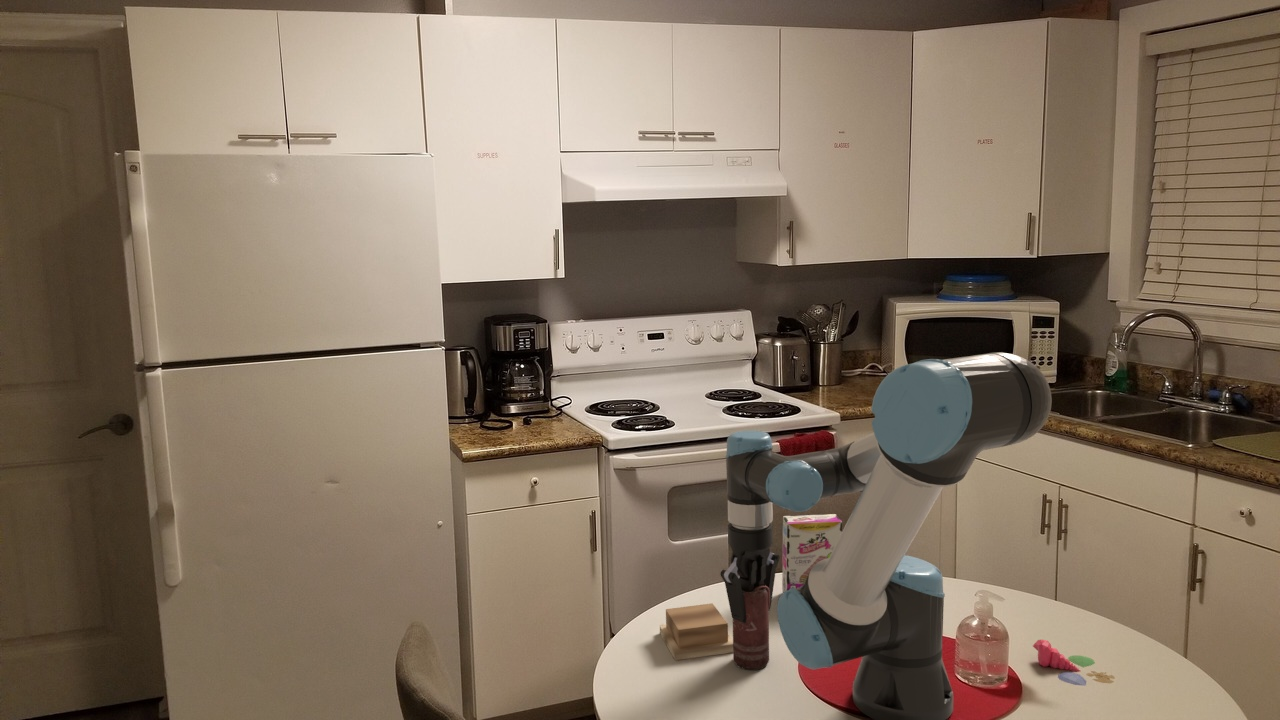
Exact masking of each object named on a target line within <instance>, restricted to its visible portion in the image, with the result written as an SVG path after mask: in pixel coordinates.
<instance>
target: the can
mask: <svg viewBox="0 0 1280 720" xmlns="http://www.w3.org/2000/svg"><path fill="white" fill-rule="evenodd" d="M754 588H755V589H754V591H752V592H745V591H743V590H742V594H743V599H744V604H745V609H746V618H747V620H746V622H745V623H743V622H740V621H738V620H735V619H733V618H732V640H733V652H732V654H733V655H732V656H733V657H732V658H733V662H734V663H735V665H736V667H739V668H741V669H744V670H748V671H757V670H760V669H763V668H765V667H766V666H768V663H769V662H770V624H769V623H770V617H769V614H770V613H769V611H770V610H769V605H770V589H769V588H768V587H767V586H766V584H764V586H759V587H757V588H756V587H754Z"/></svg>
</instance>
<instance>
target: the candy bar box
mask: <svg viewBox="0 0 1280 720" xmlns="http://www.w3.org/2000/svg"><path fill="white" fill-rule="evenodd" d="M842 531H843V521H842V520H841V519H840V517H839V516H838V515H837V513H836V514H835V513H832V514H831V513H829V514H827V513H826V514H809V515H808V514H805V515H804V514H803V515H783V516H782V570H781V572H782V574H781V575H782V579H781V580H782V582H781V583H782V585H781V586H782V593H783V592H785V591H788V590H789V589H790V588H795V589H796V588H800V587H801V586H803V585H804V583H805V581H806V579H807V577H808V575H809V573H810V571H811V569H812V568H813V567H814V565H815V564H817V563H818V562H819V561H821V560H824V559H827V558H829V557H830V555H831V553H832V551H833V549H834V547H835V545H836V543H837V541H838V539H839V537H840V535H841V533H842Z"/></svg>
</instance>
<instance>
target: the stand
mask: <svg viewBox="0 0 1280 720" xmlns="http://www.w3.org/2000/svg"><path fill="white" fill-rule="evenodd" d="M659 634H660V636H661V638H662V639H663V641H664V643H665V644H666V647H667V648H668V650H669V652H670V654H671V655H672V657H673V658H674V661H678V660H679V661H680V660H685V659H694V658H701V657H707V656H715V655H723V654H729V653H733V638H732V637H731V636H730V634H729V623H728V622H727V620H726V619H725V617H724V616H723V615H722V613H720V611H719V610H718V609H717V607H716V606H715V605H714V603H704V604H697V605H689V606H680V607H672V608H666V609H665V624H662V625H659Z"/></svg>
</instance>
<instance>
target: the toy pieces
mask: <svg viewBox="0 0 1280 720" xmlns="http://www.w3.org/2000/svg"><path fill="white" fill-rule="evenodd" d="M1032 647H1033V648H1034V649H1035V651H1037V660H1038V663H1039V665H1040V666H1041V667H1043V668H1044V667H1045V668H1046V667H1049V666H1050V667H1051V668H1052V669H1059V670H1065V671H1066V672H1061V673H1059V674H1058V676H1057V678H1058V679H1059V680H1060V681H1061V682H1064V683H1067V684H1071V685H1073V686H1085V687H1087V680H1086V678H1084V677H1083V676H1082V675H1080V674H1079V673H1076V672H1081V670H1080V669H1079V668H1078V667H1077V666H1080V667H1081V668H1086V667H1090V666H1093V665H1095V664H1096V662H1095V660H1094V659H1092V658H1091V657H1088V656H1084V655H1080V654H1079V655H1078V654H1077V655H1070V656H1068V658H1066V657H1065V656H1064V654H1062V653H1061V654H1060V652H1059V650H1058V649H1057V648H1055V647H1052V645H1051V642H1049V641H1048V640H1046V639H1037V641H1035V642H1034V644H1033V645H1032ZM1076 665H1077V666H1076ZM1067 671H1068V672H1067ZM1069 671H1071V672H1069ZM1086 676H1087V677H1089V678H1092V677H1095V678H1092V680H1093V681H1095V682H1098V683H1100V684H1101V683H1102V684H1112V683H1114V682H1115V681H1114V679H1115V678H1116V677H1115V676H1114V675H1112V674H1111V675H1107V672H1106V671H1105V672H1101V671H1100V672H1097V671H1094V670H1090V672H1088V673H1086ZM1111 679H1113V680H1111Z"/></svg>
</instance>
